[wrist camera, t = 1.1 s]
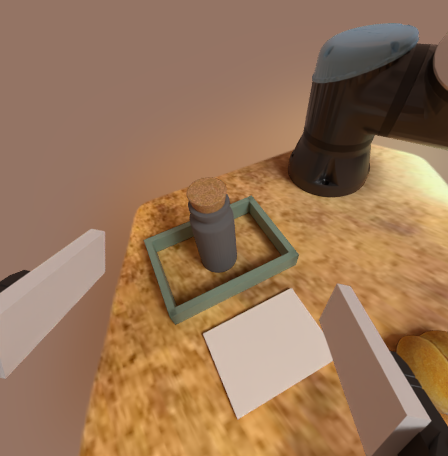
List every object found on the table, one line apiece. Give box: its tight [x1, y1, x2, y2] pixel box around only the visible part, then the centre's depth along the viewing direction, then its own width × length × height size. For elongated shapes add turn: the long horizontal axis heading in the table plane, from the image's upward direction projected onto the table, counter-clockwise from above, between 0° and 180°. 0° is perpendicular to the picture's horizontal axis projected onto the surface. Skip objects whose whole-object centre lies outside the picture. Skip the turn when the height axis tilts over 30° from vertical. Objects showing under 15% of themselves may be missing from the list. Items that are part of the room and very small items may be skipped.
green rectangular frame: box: [144, 196, 299, 325], centre depth 39 cm, size 20×14×3 cm
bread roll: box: [396, 330, 448, 415], centre depth 27 cm, size 8×9×4 cm
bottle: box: [187, 178, 237, 273], centre depth 35 cm, size 6×6×15 cm
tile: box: [203, 288, 333, 419], centre depth 32 cm, size 14×10×1 cm
